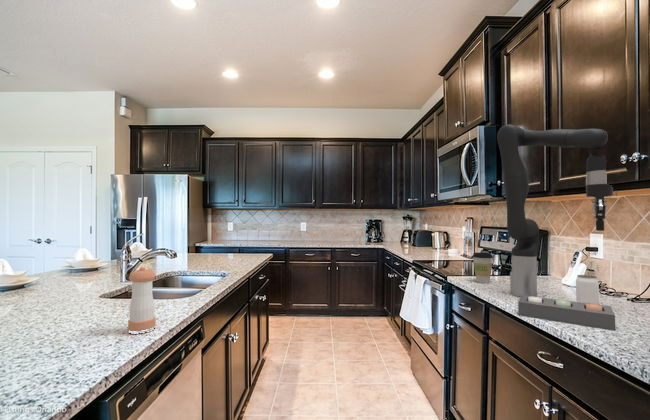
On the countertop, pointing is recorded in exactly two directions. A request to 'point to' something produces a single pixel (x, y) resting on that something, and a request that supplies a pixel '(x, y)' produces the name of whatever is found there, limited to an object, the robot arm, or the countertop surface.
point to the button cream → (535, 299)
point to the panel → (567, 312)
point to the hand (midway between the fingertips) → (600, 230)
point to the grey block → (587, 289)
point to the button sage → (563, 303)
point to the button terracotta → (594, 307)
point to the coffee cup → (482, 266)
